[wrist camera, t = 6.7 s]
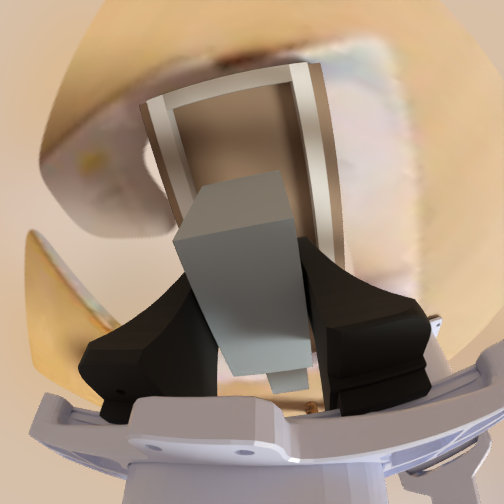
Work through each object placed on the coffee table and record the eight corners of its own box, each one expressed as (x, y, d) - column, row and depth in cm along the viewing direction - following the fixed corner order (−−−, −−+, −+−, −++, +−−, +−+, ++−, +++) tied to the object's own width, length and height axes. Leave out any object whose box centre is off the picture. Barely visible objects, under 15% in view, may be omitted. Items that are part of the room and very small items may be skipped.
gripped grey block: (279, 169, 12) (293, 218, 7) (301, 298, 15) (313, 371, 11) (202, 186, 12) (172, 241, 8) (240, 307, 16) (236, 380, 12)
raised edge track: (341, 334, 26) (354, 388, 21) (235, 351, 28) (231, 405, 22) (315, 65, 14) (346, 50, 8) (147, 104, 15) (97, 112, 10)
